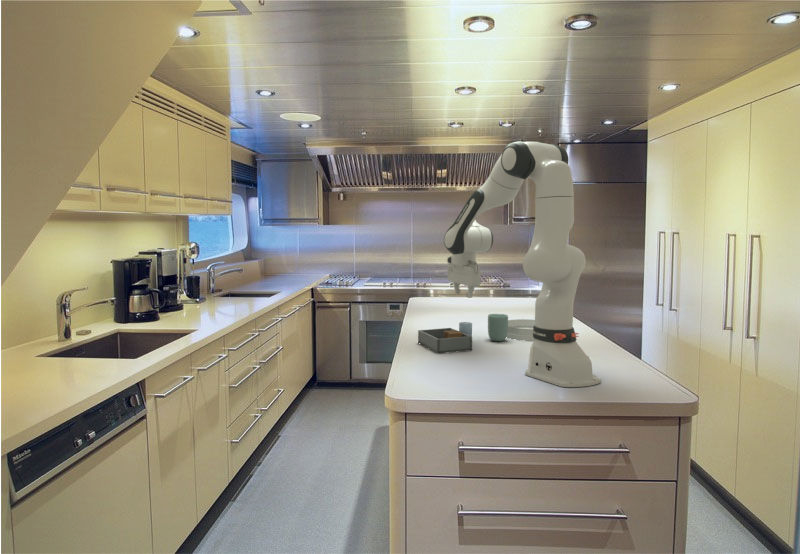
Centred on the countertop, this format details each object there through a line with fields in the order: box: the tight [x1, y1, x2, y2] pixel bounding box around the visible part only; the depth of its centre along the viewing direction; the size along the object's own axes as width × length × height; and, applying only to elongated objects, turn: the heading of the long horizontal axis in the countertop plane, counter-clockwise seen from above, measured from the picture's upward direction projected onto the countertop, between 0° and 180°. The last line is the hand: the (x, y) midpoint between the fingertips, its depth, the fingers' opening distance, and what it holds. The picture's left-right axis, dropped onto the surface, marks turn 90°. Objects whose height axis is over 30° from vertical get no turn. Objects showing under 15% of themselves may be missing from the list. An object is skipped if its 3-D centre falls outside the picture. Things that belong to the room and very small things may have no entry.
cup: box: [487, 313, 509, 342], centre depth 205 cm, size 8×8×10 cm
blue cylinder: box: [458, 321, 473, 337], centre depth 205 cm, size 5×5×7 cm
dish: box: [506, 318, 535, 342], centre depth 215 cm, size 22×22×5 cm
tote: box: [417, 327, 473, 354], centre depth 195 cm, size 18×14×5 cm
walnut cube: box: [444, 329, 462, 338], centre depth 194 cm, size 5×5×5 cm
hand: (463, 295), depth 202 cm, fingers open, 8 cm apart
